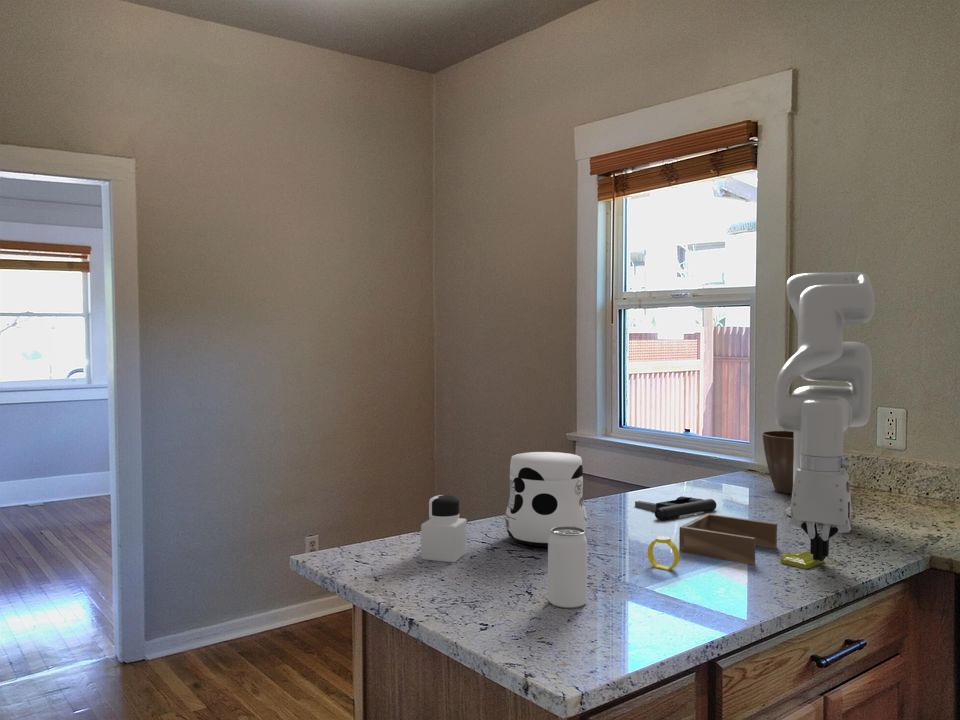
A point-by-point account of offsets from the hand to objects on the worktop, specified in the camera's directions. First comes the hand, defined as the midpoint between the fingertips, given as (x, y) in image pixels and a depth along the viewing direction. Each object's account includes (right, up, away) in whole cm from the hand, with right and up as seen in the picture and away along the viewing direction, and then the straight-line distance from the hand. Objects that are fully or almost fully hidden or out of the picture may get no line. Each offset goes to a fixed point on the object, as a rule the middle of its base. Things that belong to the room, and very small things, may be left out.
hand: (819, 558), depth 150 cm
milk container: (-51, -1, +17) cm, 54 cm away
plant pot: (+22, +1, +69) cm, 72 cm away
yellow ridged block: (-3, -2, +2) cm, 4 cm away
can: (-51, -2, -20) cm, 55 cm away
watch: (-30, -2, -2) cm, 31 cm away
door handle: (-18, 0, +46) cm, 49 cm away
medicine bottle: (-72, -1, +6) cm, 72 cm away
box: (-14, -1, +11) cm, 17 cm away
